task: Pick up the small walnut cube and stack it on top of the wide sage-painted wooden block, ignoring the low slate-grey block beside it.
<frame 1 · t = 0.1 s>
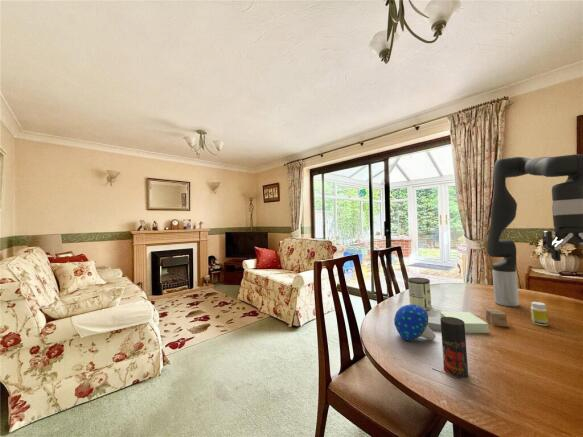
hand: (573, 260, 79), 29 cm above the table, fingers open, 8 cm apart
walnut cube: (496, 323, 99), on the table
supplement bottle: (539, 324, 96), on the table
sage block: (463, 327, 98), on the table
slate block: (435, 327, 98), on the table
coffee can: (420, 306, 122), on the table
deodorant: (455, 372, 69), on the table
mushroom: (414, 339, 89), on the table
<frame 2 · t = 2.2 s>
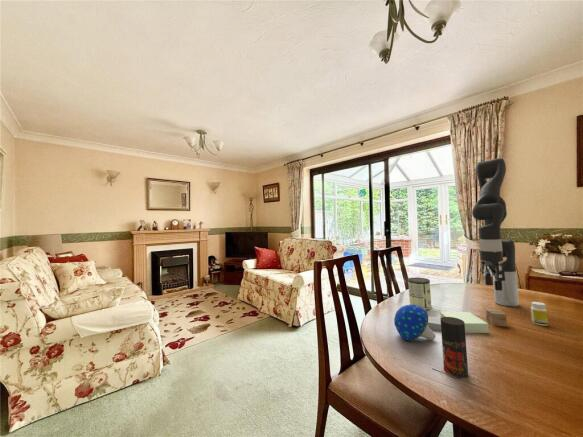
hand: (493, 287, 99), 15 cm above the table, fingers open, 8 cm apart
nothing on the table moved.
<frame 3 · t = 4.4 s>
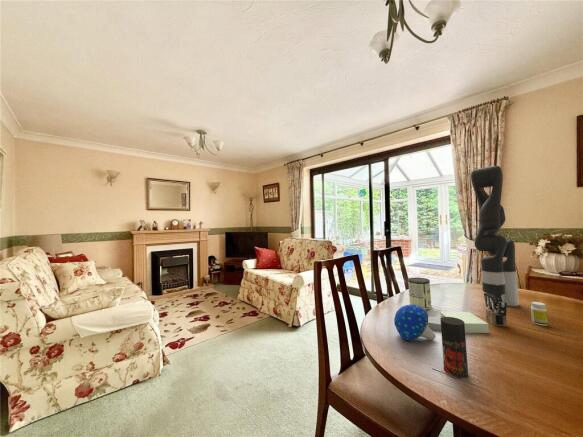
hand: (496, 321, 99), 1 cm above the table, fingers closed on walnut cube, 5 cm apart
walnut cube: (496, 323, 99), on the table, touching gripper
everything else where it was.
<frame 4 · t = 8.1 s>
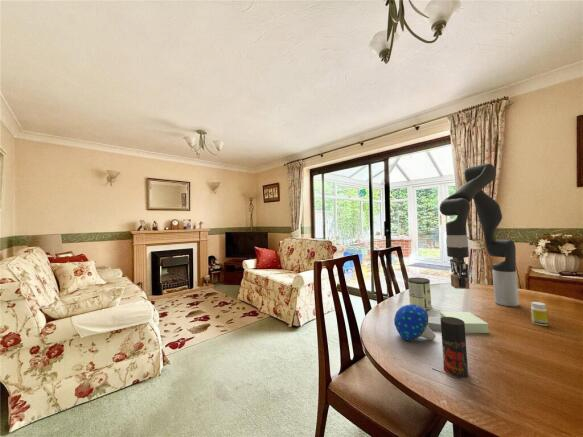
hand: (460, 285, 98), 17 cm above the table, fingers closed on walnut cube, 5 cm apart
walnut cube: (460, 287, 98), point 16 cm above the table, touching gripper
everything else where it was.
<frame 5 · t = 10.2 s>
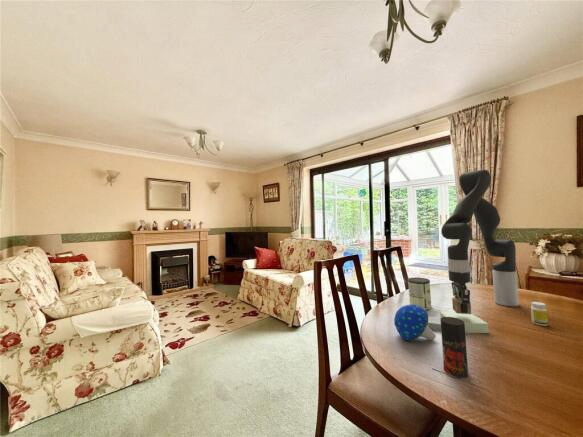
hand: (461, 310, 98), 7 cm above the table, fingers closed on walnut cube, 5 cm apart
walnut cube: (461, 311, 98), point 6 cm above the table, touching gripper
everything else where it was.
when the fingers open (5 cm above the table, at t = 11.8 s): walnut cube drops 1 cm, resting on sage block.
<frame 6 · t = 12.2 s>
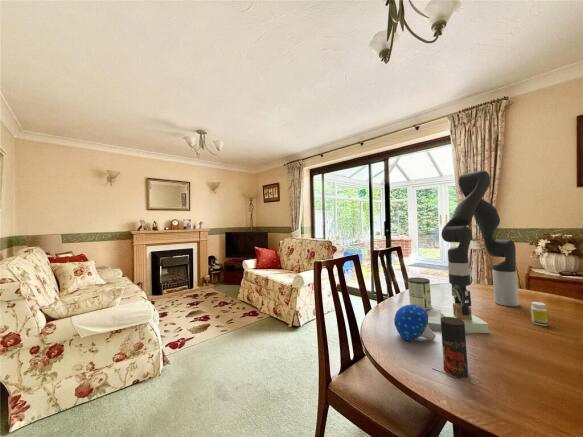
hand: (461, 311, 98), 6 cm above the table, fingers open, 8 cm apart
walnut cube: (462, 317, 98), point 3 cm above the table, touching sage block
sage block: (463, 327, 97), on the table, touching walnut cube
everything else where it was.
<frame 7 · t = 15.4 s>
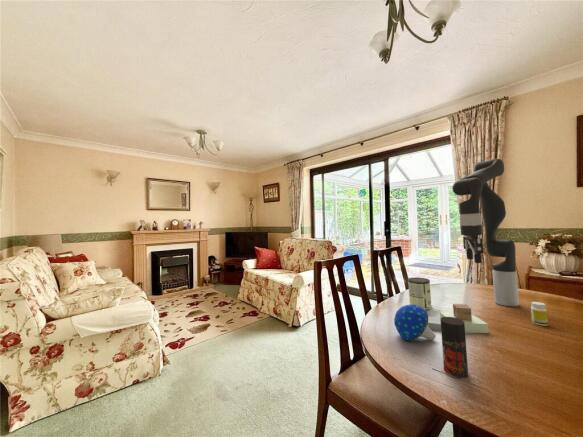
hand: (474, 261, 101), 26 cm above the table, fingers open, 8 cm apart
nothing on the table moved.
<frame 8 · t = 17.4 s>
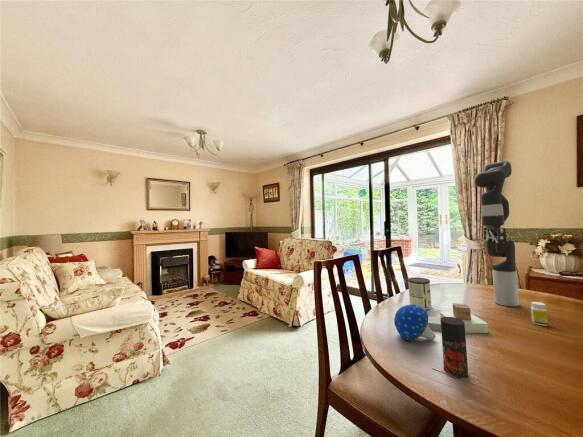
hand: (495, 250, 104), 30 cm above the table, fingers open, 8 cm apart
nothing on the table moved.
at the end: walnut cube inside the target area on the sage block (0.1 cm from its centre), point 4.0 cm above the sage block's base; walnut cube tilted 0°; the gripper is holding nothing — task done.
